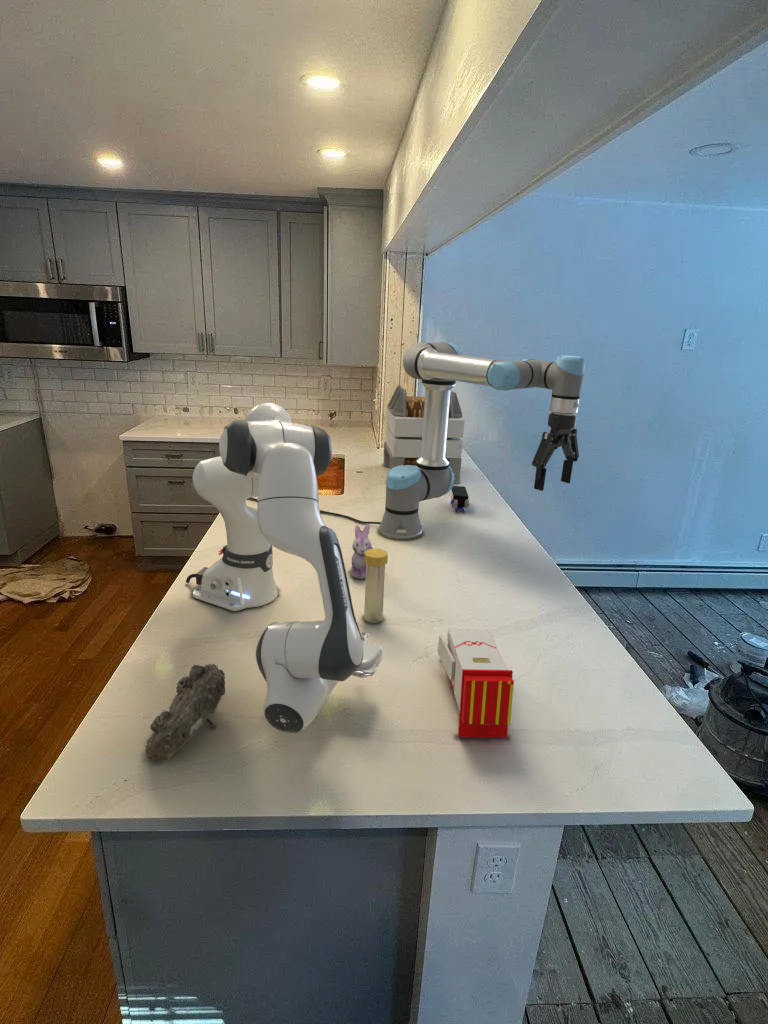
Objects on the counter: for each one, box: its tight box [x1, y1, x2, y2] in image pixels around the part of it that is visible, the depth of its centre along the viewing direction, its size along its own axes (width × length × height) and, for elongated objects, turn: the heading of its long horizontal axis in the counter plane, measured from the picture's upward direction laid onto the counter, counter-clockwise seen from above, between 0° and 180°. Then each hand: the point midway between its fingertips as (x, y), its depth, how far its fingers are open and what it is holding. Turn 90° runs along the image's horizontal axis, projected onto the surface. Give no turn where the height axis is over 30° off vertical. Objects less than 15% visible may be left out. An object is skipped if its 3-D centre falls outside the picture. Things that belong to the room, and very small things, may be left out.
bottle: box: [363, 564, 386, 624], centre depth 142 cm, size 5×5×18 cm
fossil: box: [144, 663, 226, 761], centre depth 105 cm, size 22×10×15 cm
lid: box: [364, 547, 389, 567], centre depth 139 cm, size 6×6×2 cm
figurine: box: [350, 524, 374, 580], centre depth 167 cm, size 9×10×15 cm
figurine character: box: [450, 485, 470, 513], centre depth 227 cm, size 7×8×15 cm
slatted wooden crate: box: [383, 384, 465, 484], centre depth 268 cm, size 34×33×41 cm
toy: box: [437, 628, 515, 738], centre depth 117 cm, size 12×13×30 cm
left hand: (344, 631), depth 121 cm, fingers open, 8 cm apart
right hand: (552, 485), depth 166 cm, fingers open, 13 cm apart
